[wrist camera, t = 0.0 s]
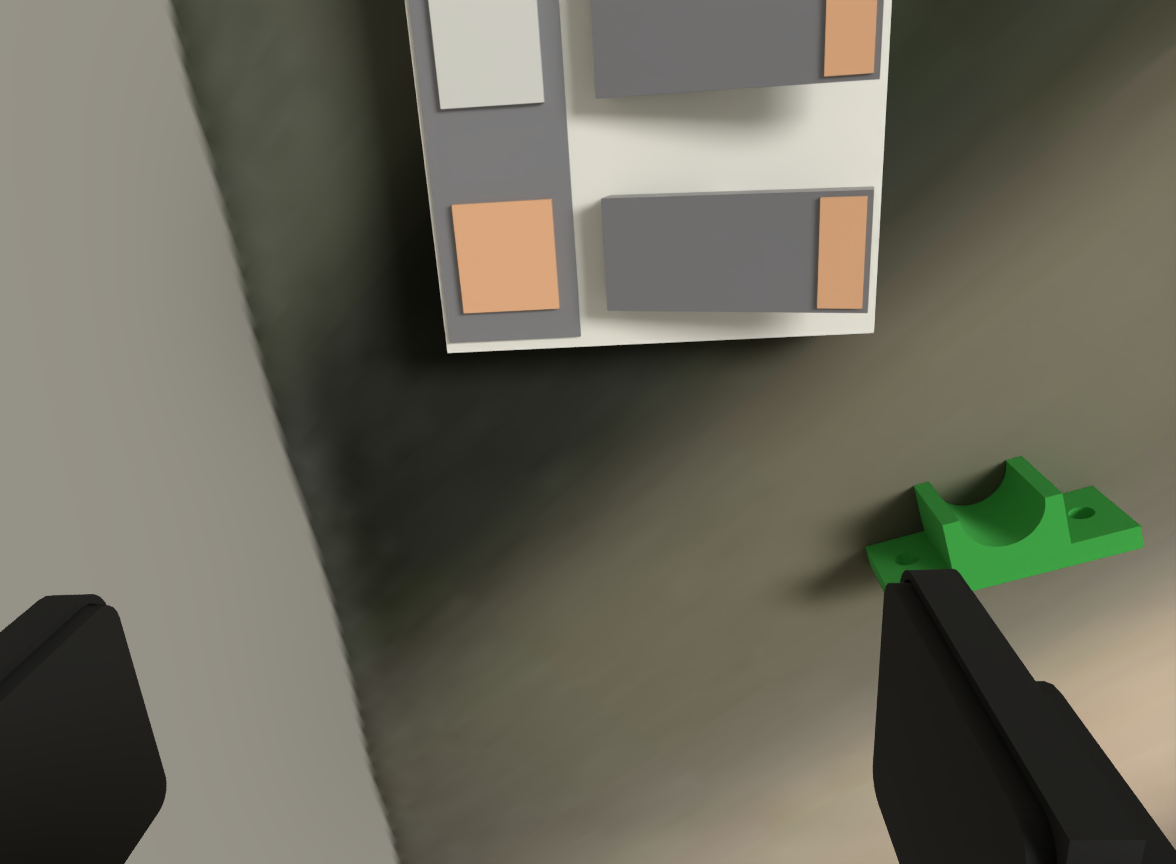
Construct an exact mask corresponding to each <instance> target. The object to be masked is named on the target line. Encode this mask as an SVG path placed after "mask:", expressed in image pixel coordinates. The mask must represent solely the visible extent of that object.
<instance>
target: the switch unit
mask: <svg viewBox="0 0 1176 864" xmlns="http://www.w3.org/2000/svg"><path fill="white" fill-rule="evenodd" d="M891 6H892V0H884V9H883V28H882V48H881V67H880V79H877V80H863V81H848V82H834V83H819V84H805V85H790V86H776V87H761V88H747V89H732V90H718V91H703V92H689V93H674V94H660V95H645V96H631V97H616V98H599V99H596V97H595V79H594V60H593V42H592V24H591V6H590V0H405V8H406V16H407V24H408V32H409V41H410V49H411V57H412V65H413V73H414V82H415V90H416V98H417V106H418V114H419V123H420V131H421V139H422V147H423V156H424V164H425V172H426V180H427V188H428V197H429V205H430V213H431V221H432V229H433V238H434V246H435V254H436V262H437V270H438V279H439V287H440V295H441V303H442V311H443V320H444V328H445V336H446V344H447V353H460V352H481V351H502V350H523V349H544V348H565V347H586V346H607V345H628V344H649V343H670V342H691V341H712V340H733V339H754V338H775V337H796V336H817V335H838V334H859V333H874V320H875V302H876V283H877V265H878V246H879V228H880V209H881V191H882V172H883V154H884V135H885V117H886V98H887V80H888V61H889V43H890V24H891ZM869 186H874V204H873V224H872V243H871V263H870V282H869V302H868V313H782V312H674V311H607V297H606V279H605V261H604V243H603V224H602V206H601V198H604V197H606V196H609V195H628V194H658V193H688V192H718V191H748V190H779V189H809V188H839V187H869Z"/></svg>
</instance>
